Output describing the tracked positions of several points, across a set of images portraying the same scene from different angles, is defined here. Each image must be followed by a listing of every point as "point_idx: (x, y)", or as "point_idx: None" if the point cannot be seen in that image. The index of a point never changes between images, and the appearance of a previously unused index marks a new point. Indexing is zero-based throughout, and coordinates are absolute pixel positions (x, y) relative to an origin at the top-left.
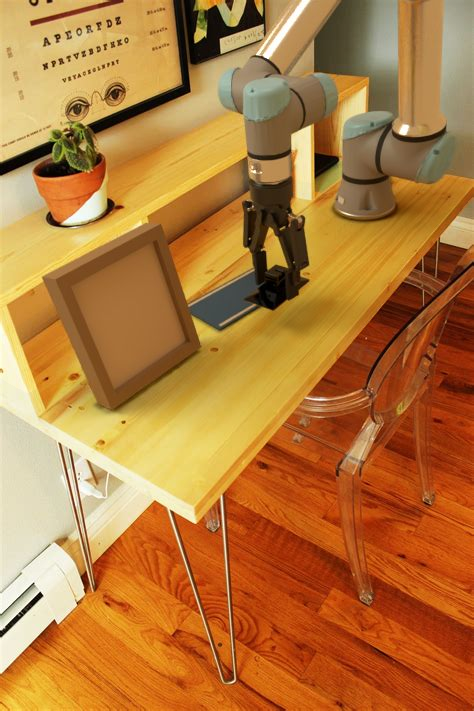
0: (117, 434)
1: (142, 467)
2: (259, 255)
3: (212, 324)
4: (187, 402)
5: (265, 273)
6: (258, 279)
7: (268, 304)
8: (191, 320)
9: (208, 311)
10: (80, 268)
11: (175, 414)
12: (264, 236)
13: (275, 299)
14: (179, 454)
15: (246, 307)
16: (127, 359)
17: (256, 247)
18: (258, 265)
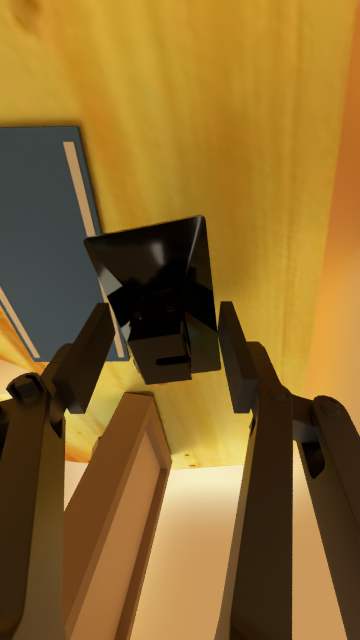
0: (194, 460)
1: (237, 462)
2: (80, 400)
3: (110, 360)
4: (211, 428)
5: (148, 382)
6: (110, 343)
7: (200, 367)
8: (137, 440)
9: None
10: None
11: (214, 438)
12: (45, 485)
13: (203, 354)
14: None
15: (101, 301)
16: (149, 479)
17: (62, 443)
18: (95, 374)
